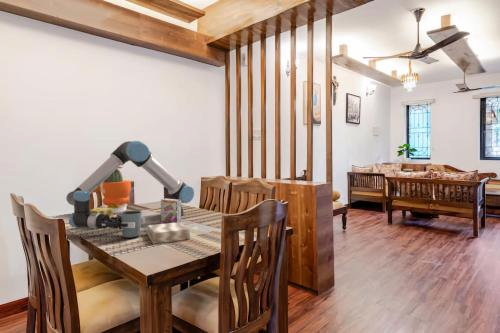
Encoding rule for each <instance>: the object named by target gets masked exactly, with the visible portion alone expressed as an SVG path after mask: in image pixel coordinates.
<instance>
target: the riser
mask: <svg viewBox="0 0 500 333" xmlns="http://www.w3.org/2000/svg"><path fill="white" fill-rule="evenodd" d="M146 231H147V232H146V235H147V236H148V238H149V239H150V241H151V242H152V244H159V243H160V244H161V243H168V242H170V243H171V242H175V241H176V242H178V241H186V239H187V240H190V239H191V236H190V235H191V234H190V233H191V230H190V229H189V228H187V227H186V226H185V225H184V224H183V223H182V222H181V223H180V222H177V223H167V224H161V223H159V224H156V223H155V224H148V225H147V228H146Z"/></svg>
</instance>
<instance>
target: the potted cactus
mask: <svg viewBox="0 0 500 333" xmlns="http://www.w3.org/2000/svg"><path fill="white" fill-rule="evenodd" d="M122 168H123V166H119V167H118V168H117V169H116V170H115V171H114V172H113V173H112V174H111V175H110V176H109V177H108V178H107V179H106V180H105V181H104V182H103V183H101V184H100V185H99V191H100V193H101V194H102V196H103V198H102V200H101V202H102V204H103V205H100V206H98V208H113V214H115V213H116V214H118V213H121V212H124V211H127V204H128V203H129V202H130V197H129V196H130V193H131V188H132V184H131V181H130V180H124V176H123V174H122V171H121V170H120V169H122ZM117 212H118V213H117Z"/></svg>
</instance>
